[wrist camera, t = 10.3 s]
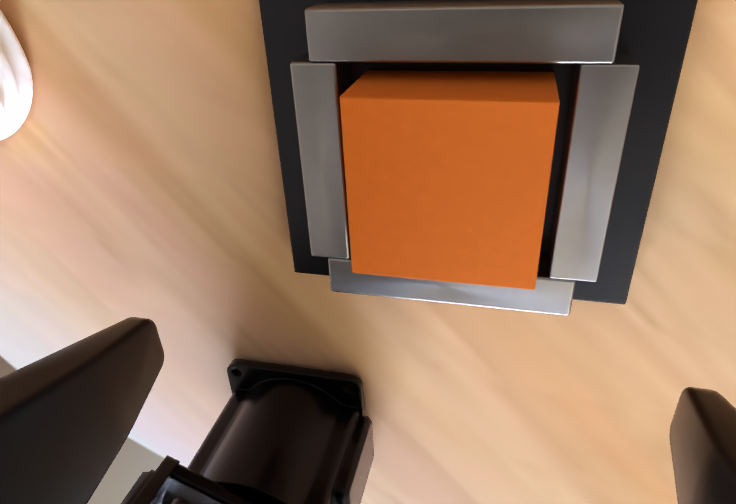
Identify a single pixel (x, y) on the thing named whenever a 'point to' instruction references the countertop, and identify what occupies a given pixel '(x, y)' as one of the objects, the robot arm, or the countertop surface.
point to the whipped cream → (13, 81)
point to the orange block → (449, 173)
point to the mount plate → (487, 53)
